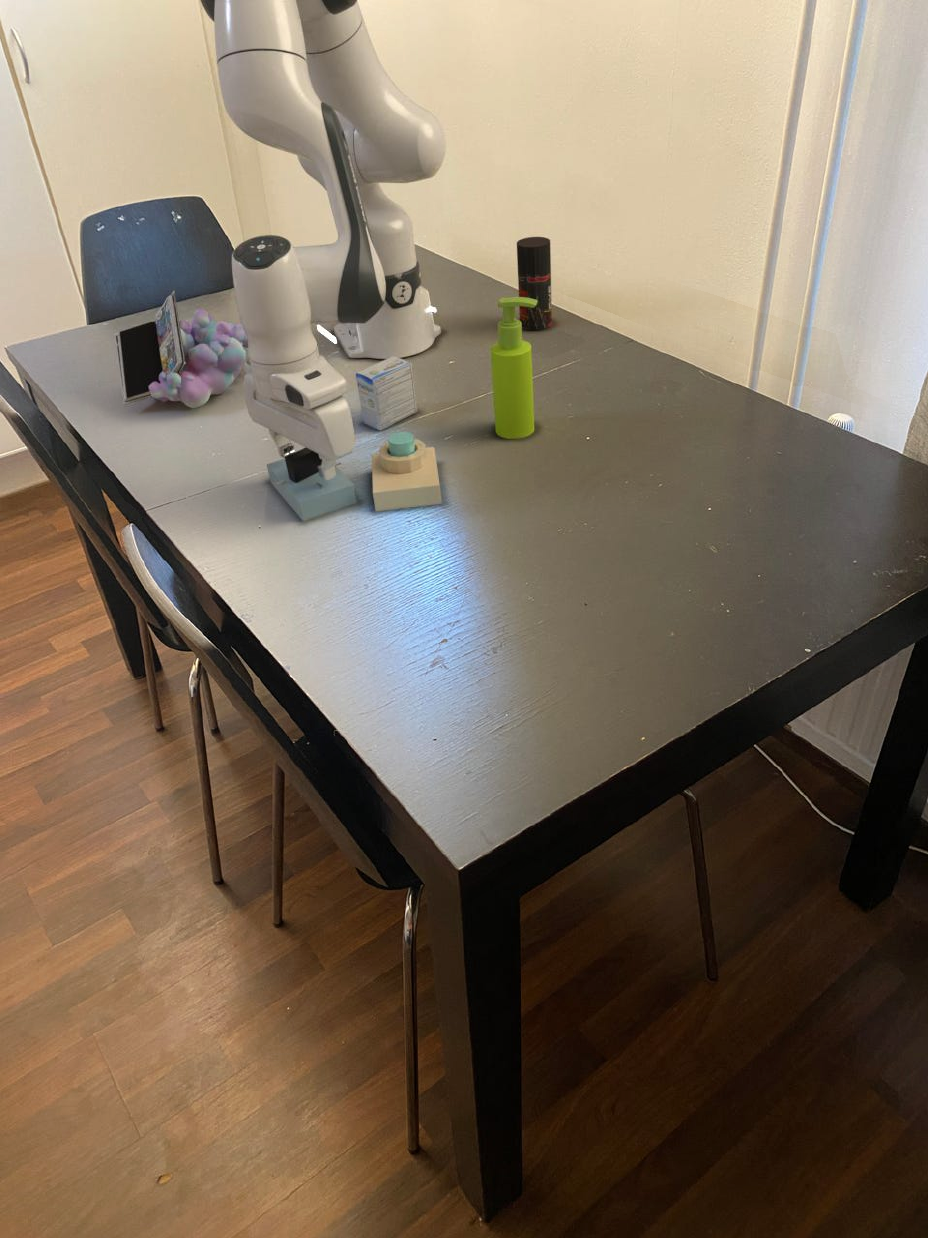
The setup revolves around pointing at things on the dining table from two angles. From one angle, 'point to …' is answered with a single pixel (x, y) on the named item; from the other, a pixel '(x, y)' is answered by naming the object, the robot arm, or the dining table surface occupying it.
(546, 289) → the deodorant
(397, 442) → the teal short cylinder
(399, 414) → the medicine box
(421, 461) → the beige nut base
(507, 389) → the soap dispenser
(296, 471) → the black rectangular block
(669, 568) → the dining table surface
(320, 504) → the switch panel
